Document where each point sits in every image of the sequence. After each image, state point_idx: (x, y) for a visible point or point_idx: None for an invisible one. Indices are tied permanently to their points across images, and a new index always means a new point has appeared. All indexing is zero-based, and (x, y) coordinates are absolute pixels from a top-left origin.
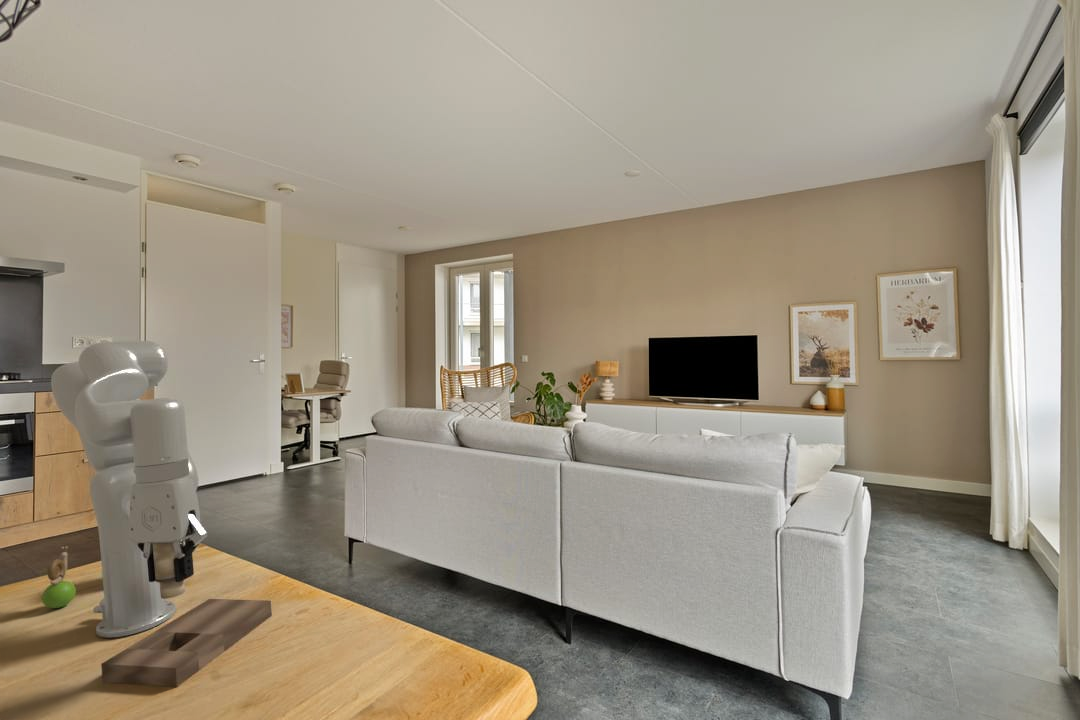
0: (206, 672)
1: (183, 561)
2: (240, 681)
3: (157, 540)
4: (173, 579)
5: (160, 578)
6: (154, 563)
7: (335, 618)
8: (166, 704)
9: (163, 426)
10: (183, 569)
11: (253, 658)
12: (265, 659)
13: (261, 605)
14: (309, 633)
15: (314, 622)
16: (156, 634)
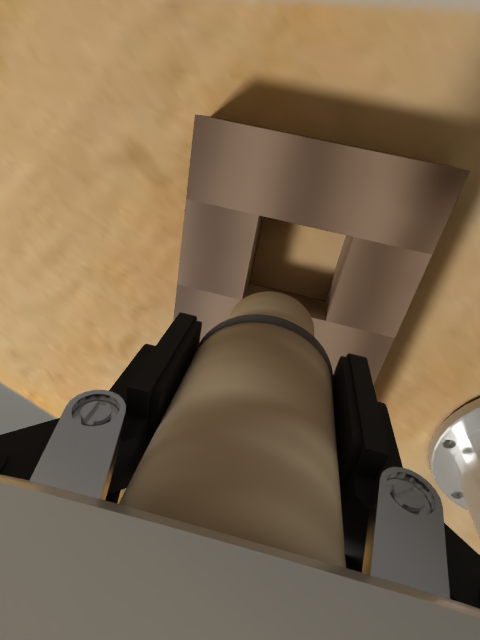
0: (176, 179)
1: (117, 387)
2: (64, 126)
3: (168, 546)
4: (213, 330)
5: (268, 326)
6: (313, 406)
7: (29, 357)
8: (185, 30)
9: None
10: (143, 358)
11: (100, 226)
12: (69, 217)
13: None
14: (43, 309)
15: (62, 351)
16: (379, 320)
